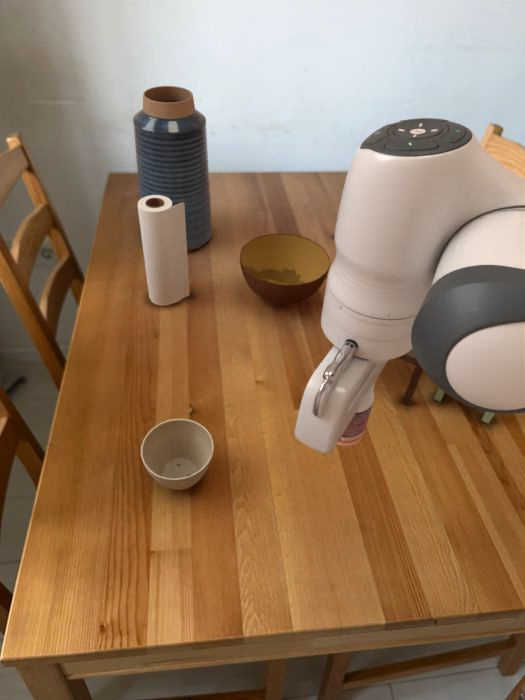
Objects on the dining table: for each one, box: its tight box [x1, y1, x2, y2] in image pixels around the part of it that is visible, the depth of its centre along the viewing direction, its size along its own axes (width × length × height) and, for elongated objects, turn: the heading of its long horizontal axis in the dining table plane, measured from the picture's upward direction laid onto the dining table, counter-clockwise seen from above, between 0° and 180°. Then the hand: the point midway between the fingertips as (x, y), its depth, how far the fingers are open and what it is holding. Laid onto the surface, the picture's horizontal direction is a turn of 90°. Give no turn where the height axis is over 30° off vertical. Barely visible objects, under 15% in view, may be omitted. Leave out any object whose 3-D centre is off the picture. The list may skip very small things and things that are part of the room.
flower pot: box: [140, 418, 215, 491], centre depth 73 cm, size 10×10×7 cm
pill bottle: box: [336, 381, 376, 447], centre depth 54 cm, size 5×5×8 cm
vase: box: [132, 85, 213, 252], centre depth 111 cm, size 16×16×32 cm
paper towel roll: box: [137, 195, 190, 307], centre depth 97 cm, size 7×6×21 cm
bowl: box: [239, 232, 331, 308], centre depth 104 cm, size 18×18×10 cm
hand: (347, 411), depth 55 cm, fingers closed on pill bottle, 5 cm apart
